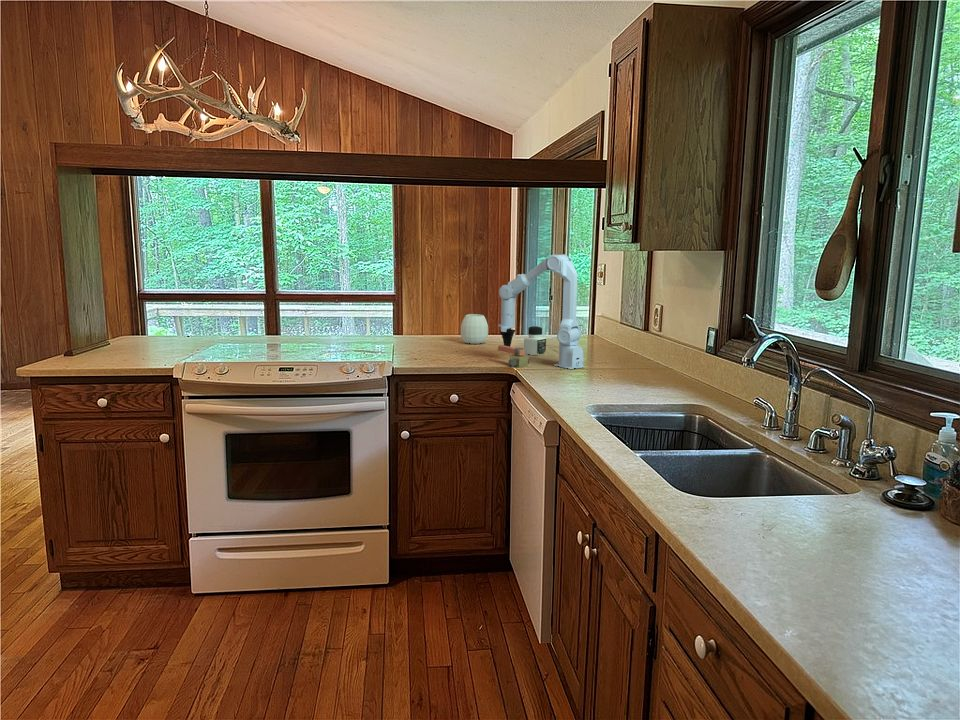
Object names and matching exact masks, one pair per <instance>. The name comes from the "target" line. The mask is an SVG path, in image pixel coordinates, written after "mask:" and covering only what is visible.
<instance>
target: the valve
mask: <svg viewBox="0 0 960 720" xmlns="http://www.w3.org/2000/svg"><path fill="white" fill-rule="evenodd" d="M507 362H508V367H510V368H513V367H514V368H518V369H519V368H520V369H521V368H528V367H529V364H530V359H529V355H526V354H525V355H515V354H509V360H508V361H507ZM527 366H528V367H527Z"/></svg>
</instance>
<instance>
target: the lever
mask: <svg viewBox="0 0 960 720" xmlns="http://www.w3.org/2000/svg"><path fill="white" fill-rule="evenodd" d="M497 350H498V351H499V352H501V353H502V352H504V353H506V354H507V353H508V354H510V355H513V354H515V355H525V356H526V354H525V350H524V347H523V348H522V347H513V346H510V347H509V346H505V345H504V344H503V345H498V346H497Z"/></svg>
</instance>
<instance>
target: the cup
mask: <svg viewBox="0 0 960 720" xmlns="http://www.w3.org/2000/svg"><path fill="white" fill-rule="evenodd" d="M460 337H461V340H462V341H463V343H466V344H469V343H470V344H469V345H479V344H480V343H481V344H484V343H485V342H486V341H487V339H488V337H489V325H488V322H487V318H486V317H485V315H484V314H480V313H479V314H477V313H475V314H474V313H469V314H465V316H464V317H463V319H462V321H461V324H460Z"/></svg>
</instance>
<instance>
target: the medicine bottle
mask: <svg viewBox="0 0 960 720" xmlns="http://www.w3.org/2000/svg"><path fill="white" fill-rule="evenodd" d="M527 332H528V333H527V335H528V337H527V336H526V337H524V338H523V350H525V355H528V354H530V355H529V356H535V355H538V356H541V355H545V354H546V353H547V338H546V337H545V336H543V328H542V326H536V325H532V326H530V327H528V330H527Z"/></svg>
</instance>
